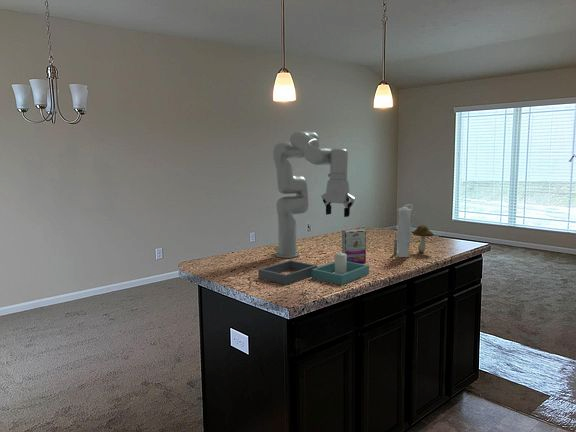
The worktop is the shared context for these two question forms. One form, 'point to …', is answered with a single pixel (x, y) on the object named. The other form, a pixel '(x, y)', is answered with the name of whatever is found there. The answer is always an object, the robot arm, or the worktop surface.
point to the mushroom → (422, 236)
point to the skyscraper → (403, 233)
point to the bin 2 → (326, 275)
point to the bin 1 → (274, 271)
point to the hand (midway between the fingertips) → (337, 215)
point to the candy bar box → (354, 245)
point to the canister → (340, 263)
